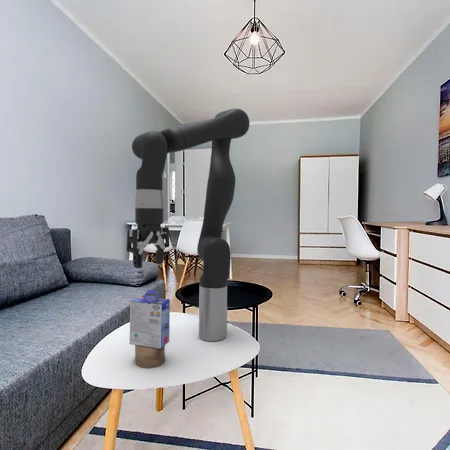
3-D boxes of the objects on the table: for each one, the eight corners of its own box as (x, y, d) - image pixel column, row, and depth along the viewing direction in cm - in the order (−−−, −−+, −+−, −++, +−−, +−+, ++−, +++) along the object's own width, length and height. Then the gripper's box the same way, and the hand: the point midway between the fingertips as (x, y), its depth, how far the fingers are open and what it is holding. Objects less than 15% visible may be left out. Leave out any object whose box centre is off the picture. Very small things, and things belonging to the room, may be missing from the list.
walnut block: (149, 351, 93) (149, 335, 93) (170, 358, 89) (170, 341, 89) (128, 363, 86) (128, 345, 86) (151, 371, 82) (151, 352, 82)
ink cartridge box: (170, 341, 89) (171, 290, 88) (161, 349, 83) (162, 296, 83) (139, 337, 91) (139, 287, 90) (128, 345, 86) (128, 292, 85)
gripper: (141, 206, 78) (141, 271, 79) (176, 207, 90) (176, 263, 91) (119, 206, 81) (119, 268, 82) (156, 206, 94) (156, 260, 95)
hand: (149, 265), depth 87 cm, fingers open, 8 cm apart
